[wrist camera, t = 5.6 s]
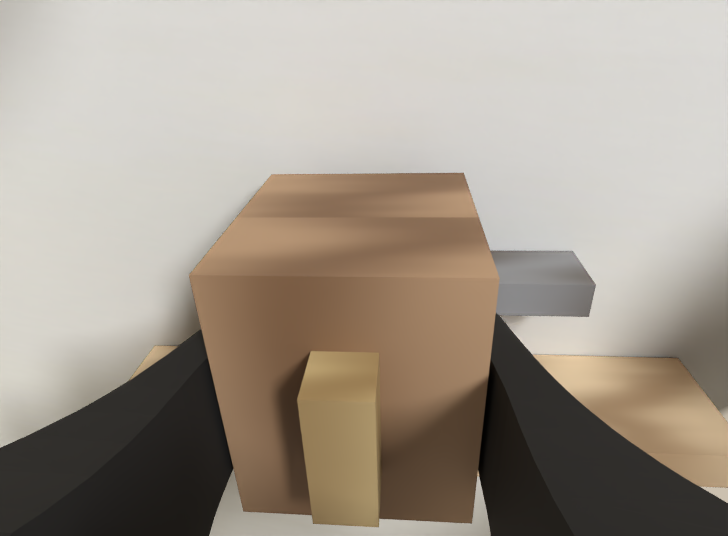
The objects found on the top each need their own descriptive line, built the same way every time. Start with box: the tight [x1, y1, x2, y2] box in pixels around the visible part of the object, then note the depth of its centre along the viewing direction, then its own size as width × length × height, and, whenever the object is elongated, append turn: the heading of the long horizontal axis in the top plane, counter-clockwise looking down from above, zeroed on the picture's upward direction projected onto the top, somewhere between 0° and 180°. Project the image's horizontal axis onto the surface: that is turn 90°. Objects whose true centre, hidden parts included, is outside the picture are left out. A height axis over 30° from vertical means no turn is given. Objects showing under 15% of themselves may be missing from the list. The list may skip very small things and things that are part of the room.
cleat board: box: [129, 251, 728, 488], centre depth 14 cm, size 18×5×4 cm, turn 92°
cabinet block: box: [189, 173, 500, 527], centre depth 11 cm, size 5×6×7 cm
